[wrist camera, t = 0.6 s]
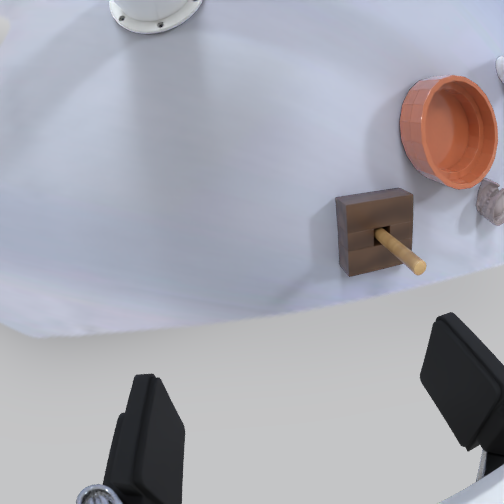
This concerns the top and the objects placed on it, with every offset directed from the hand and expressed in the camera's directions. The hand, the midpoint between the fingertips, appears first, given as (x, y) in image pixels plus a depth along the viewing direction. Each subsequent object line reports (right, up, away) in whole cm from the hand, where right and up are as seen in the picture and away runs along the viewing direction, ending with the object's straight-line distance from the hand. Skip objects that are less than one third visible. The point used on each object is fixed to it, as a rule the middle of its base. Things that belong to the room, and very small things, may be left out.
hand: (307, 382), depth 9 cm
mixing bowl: (+27, +23, +29) cm, 46 cm away
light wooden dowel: (+16, +8, +35) cm, 39 cm away
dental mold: (+41, +14, +35) cm, 56 cm away
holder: (+16, +8, +35) cm, 39 cm away
